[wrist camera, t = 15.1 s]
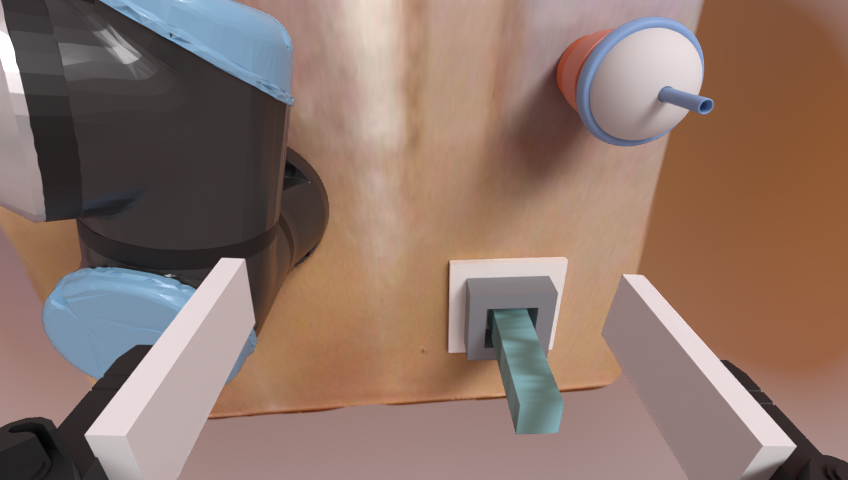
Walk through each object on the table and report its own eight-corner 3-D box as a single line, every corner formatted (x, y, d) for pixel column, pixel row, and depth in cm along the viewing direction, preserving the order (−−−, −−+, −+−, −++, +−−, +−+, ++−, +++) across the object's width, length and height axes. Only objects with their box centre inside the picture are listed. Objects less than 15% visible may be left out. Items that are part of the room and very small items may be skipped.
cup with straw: (624, 116, 42) (755, 178, 26) (535, 120, 42) (613, 183, 26) (645, 14, 37) (817, 14, 22) (545, 18, 37) (646, 20, 22)
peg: (487, 323, 53) (516, 434, 39) (489, 298, 51) (520, 405, 37) (518, 322, 53) (557, 432, 39) (521, 297, 51) (564, 403, 37)
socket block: (448, 347, 56) (451, 372, 52) (449, 260, 49) (453, 281, 45) (549, 344, 56) (560, 369, 52) (565, 256, 50) (578, 277, 46)
